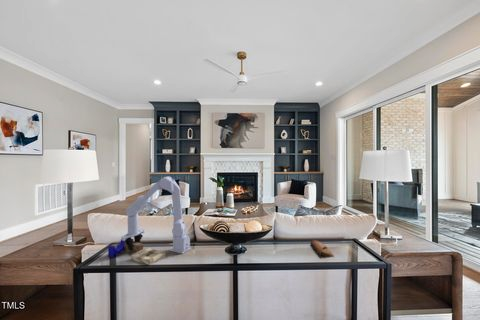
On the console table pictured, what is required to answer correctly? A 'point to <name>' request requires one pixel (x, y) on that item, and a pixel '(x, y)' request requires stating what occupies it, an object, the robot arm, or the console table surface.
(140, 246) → the walnut bar
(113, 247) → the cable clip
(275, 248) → the console table surface
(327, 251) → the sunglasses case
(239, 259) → the console table surface
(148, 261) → the cutout board
